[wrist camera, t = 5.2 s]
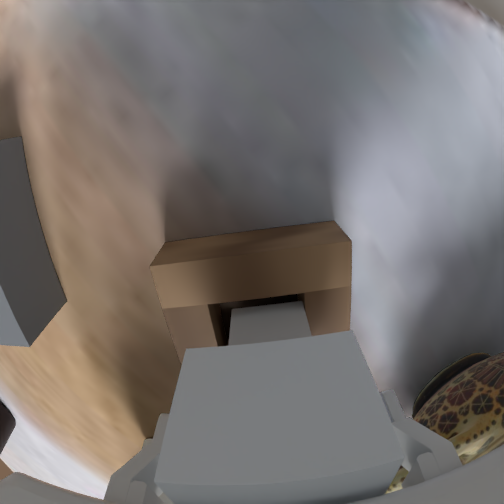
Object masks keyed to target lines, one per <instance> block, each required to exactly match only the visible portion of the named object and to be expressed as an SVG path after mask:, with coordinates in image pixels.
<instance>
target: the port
mask: <svg viewBox="0 0 504 504" xmlns="http://www.w3.org/2000/svg"><path fill="white" fill-rule="evenodd" d="M66 302H67V300H66V298H65V295H64V293H63V290H62V288H61V285H60V282H59V280H58V277H57V274H56V272H55V269H54V266H53V263H52V260H51V257H50V254H49V251H48V248H47V245H46V242H45V239H44V235H43V232H42V229H41V225H40V222H39V218H38V214H37V211H36V207H35V203H34V199H33V195H32V190H31V186H30V181H29V177H28V172H27V167H26V161H25V156H24V150H23V143H22V137H15V138H9V139H3V140H0V345H9V346H24V347H30V346H31V345H32V343H33V342H34V341H35V340H36V338H37V337H38V336H39V335H40V333H41V332H42V331H43V330H44V328H45V327H46V326H47V325H48V323H49V322H50V321H51V320H52V319H53V317H54V316H55V315H56V314H57V312H58V311H59V310H60V309H61V308H62V307H63V305H64V304H65V303H66Z"/></svg>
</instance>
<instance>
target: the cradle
mask: <svg viewBox="0 0 504 504" xmlns="http://www.w3.org/2000/svg"><path fill="white" fill-rule="evenodd" d="M150 270H151V274H152V277H153V281H154V284H155V287H156V291H157V294H158V297H159V301H160V304H161V307H162V310H163V314H164V317H165V320H166V323H167V326H168V329H169V332H170V335H171V338H172V341H173V344H174V346H175V349H176V352H177V355H178V358H179V361H180V363H181V366H182V362H183V359H184V355H185V351H186V349H189V348H206V347H219V346H228V344H229V339H227V337H226V332H225V328H224V323H223V319H222V314H221V309H220V305H219V303H225V302H234V301H243V300H251V299H260V298H268V297H276V296H283V295H291V294H298V301H302V302H303V305H304V309H305V313H306V316H307V320H308V324H309V327H310V331H311V335H312V336H317V335H324V334H331V333H337V332H343V331H349V330H350V311H351V277H352V241H351V240H350V238H349V237H348V236H347V235H346V234H345V233H344V231H343V230H342V229H341V228H340V227H339V226H338V225H337V224H336V222H335V221H327V222H318V223H310V224H302V225H293V226H285V227H277V228H269V229H261V230H253V231H246V232H238V233H230V234H223V235H216V236H208V237H201V238H194V239H186V240H179V241H172V242H165V243H164V245H163V246H162V248H161V249H160V251H159V252H158V254H157V256H156V257H155V259H154V260H153V262H152V263H151V265H150Z"/></svg>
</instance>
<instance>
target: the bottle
mask: <svg viewBox="0 0 504 504" xmlns="http://www.w3.org/2000/svg"><path fill="white" fill-rule="evenodd" d="M15 425H16V423H15V420H14V418H13V416H12V415H11V413H10V412H9V411H8V409H7V408H6V407H5V406H4V405H3V404H2V403H1V402H0V454H1V452H2V450H3V448H4V446H5V444H6V443H7V441H8V439H9V437H10V435H11V433H12V431H13V429H14V428H15Z"/></svg>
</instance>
